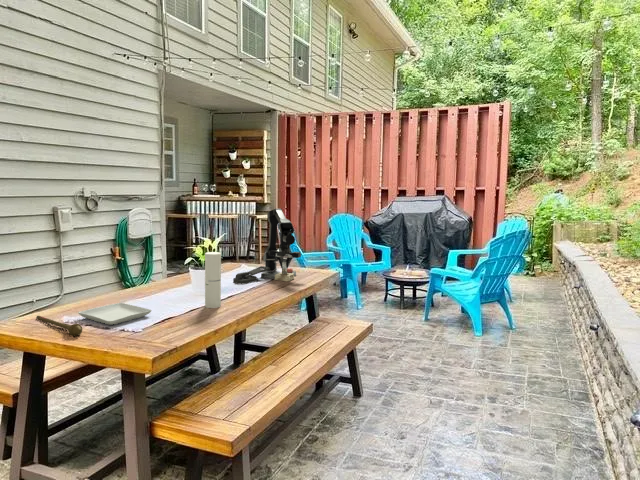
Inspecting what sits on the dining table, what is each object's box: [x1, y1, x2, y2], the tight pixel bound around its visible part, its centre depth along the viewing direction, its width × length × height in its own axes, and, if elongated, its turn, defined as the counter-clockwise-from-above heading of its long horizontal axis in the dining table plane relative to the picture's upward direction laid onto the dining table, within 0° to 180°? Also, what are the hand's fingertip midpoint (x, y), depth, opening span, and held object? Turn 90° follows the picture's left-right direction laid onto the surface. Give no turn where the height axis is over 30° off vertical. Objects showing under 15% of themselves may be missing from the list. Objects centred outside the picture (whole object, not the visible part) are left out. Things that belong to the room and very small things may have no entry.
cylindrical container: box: [204, 251, 222, 309], centre depth 227 cm, size 7×7×25 cm
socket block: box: [260, 270, 297, 280], centre depth 303 cm, size 17×17×3 cm
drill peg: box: [281, 257, 287, 274], centre depth 293 cm, size 3×3×9 cm
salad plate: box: [77, 302, 152, 326], centre depth 205 cm, size 21×21×3 cm
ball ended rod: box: [35, 315, 83, 337], centre depth 190 cm, size 5×35×5 cm
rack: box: [274, 272, 295, 282], centre depth 294 cm, size 9×9×3 cm
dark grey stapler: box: [233, 265, 270, 285], centre depth 289 cm, size 9×7×25 cm
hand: (284, 268), depth 294 cm, fingers closed on drill peg, 3 cm apart
